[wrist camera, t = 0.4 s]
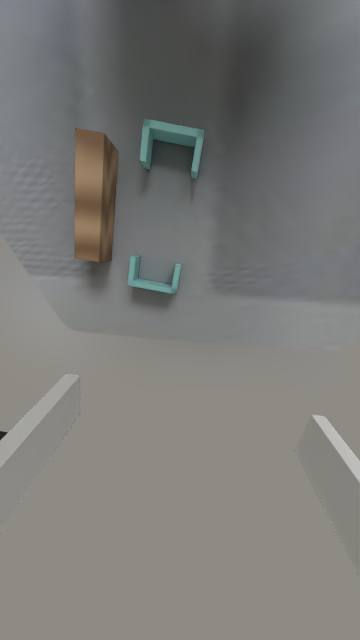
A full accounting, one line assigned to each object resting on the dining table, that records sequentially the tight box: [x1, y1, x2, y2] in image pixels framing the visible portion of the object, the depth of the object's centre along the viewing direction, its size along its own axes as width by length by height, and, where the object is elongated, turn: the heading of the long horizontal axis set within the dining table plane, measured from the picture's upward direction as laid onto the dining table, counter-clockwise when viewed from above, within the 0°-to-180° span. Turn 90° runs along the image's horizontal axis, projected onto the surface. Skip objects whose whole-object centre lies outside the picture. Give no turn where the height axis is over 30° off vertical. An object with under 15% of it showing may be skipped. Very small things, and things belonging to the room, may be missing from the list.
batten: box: [75, 128, 118, 262], centre depth 30 cm, size 15×4×5 cm, turn 170°
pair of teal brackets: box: [128, 118, 205, 294], centre depth 31 cm, size 21×8×3 cm, turn 170°
